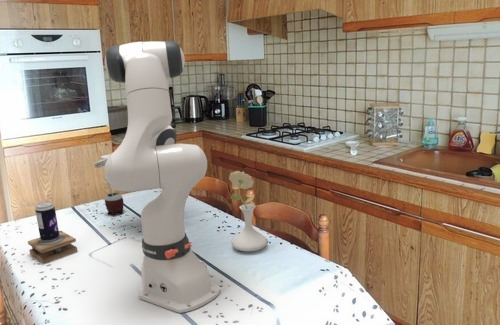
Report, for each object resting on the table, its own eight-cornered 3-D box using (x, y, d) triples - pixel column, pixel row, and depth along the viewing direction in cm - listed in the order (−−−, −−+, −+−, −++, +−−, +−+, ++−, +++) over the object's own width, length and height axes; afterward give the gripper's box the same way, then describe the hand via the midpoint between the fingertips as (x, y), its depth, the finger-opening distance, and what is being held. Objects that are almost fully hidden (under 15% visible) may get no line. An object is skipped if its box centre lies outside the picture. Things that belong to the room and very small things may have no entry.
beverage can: (53, 243, 144) (47, 207, 141) (37, 242, 144) (30, 207, 141) (63, 235, 149) (57, 201, 146) (47, 235, 150) (41, 201, 147)
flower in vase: (274, 245, 145) (271, 170, 139) (250, 258, 137) (246, 179, 131) (245, 235, 154) (241, 164, 148) (221, 247, 146) (215, 172, 140)
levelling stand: (77, 251, 148) (75, 237, 147) (43, 264, 141) (41, 249, 139) (62, 242, 156) (60, 229, 154) (30, 254, 148) (27, 240, 147)
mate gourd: (121, 216, 178) (117, 180, 174) (102, 217, 178) (96, 180, 174) (127, 209, 185) (122, 174, 181) (108, 210, 185) (103, 175, 182)
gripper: (120, 147, 168) (85, 154, 158) (152, 153, 154) (116, 161, 144) (122, 164, 169) (88, 172, 160) (154, 171, 155) (118, 180, 146)
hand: (101, 167), depth 152 cm, fingers open, 8 cm apart
